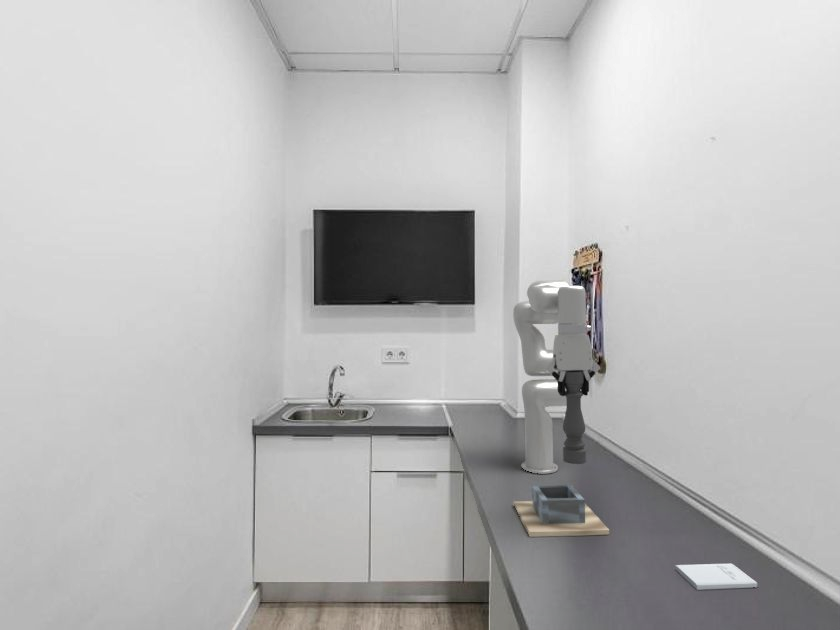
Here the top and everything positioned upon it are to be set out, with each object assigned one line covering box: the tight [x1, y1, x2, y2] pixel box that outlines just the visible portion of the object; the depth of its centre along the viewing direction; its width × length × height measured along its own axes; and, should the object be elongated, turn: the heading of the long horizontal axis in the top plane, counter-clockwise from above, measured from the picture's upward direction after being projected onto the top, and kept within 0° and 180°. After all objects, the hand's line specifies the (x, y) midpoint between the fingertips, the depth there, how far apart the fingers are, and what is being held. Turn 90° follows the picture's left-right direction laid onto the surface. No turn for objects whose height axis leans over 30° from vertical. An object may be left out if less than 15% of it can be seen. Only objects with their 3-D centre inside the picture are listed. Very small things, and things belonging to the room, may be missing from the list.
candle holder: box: [562, 371, 587, 465], centre depth 140 cm, size 6×6×25 cm
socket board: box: [512, 484, 610, 538], centre depth 135 cm, size 20×20×7 cm
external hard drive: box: [674, 562, 758, 591], centre depth 105 cm, size 2×8×12 cm
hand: (573, 394), depth 140 cm, fingers closed on candle holder, 5 cm apart
